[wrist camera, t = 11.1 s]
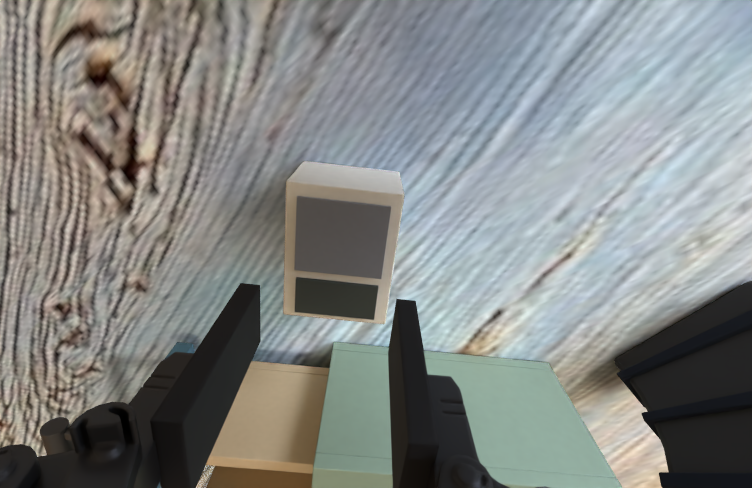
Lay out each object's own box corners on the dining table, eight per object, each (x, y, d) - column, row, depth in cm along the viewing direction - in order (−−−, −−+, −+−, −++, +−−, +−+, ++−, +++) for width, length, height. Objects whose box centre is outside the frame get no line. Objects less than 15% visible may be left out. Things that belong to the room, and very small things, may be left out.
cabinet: (322, 468, 35) (302, 613, 26) (333, 341, 29) (312, 468, 20) (503, 483, 36) (548, 629, 26) (548, 362, 30) (626, 493, 21)
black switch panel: (841, 295, 25) (1048, 574, 15) (625, 338, 34) (659, 536, 23) (823, 257, 24) (1032, 530, 14) (604, 312, 33) (630, 507, 22)
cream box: (303, 160, 24) (284, 182, 19) (399, 171, 24) (405, 195, 19) (299, 274, 27) (282, 317, 22) (384, 282, 27) (385, 327, 22)
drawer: (124, 457, 33) (47, 573, 26) (97, 334, 28) (-10, 432, 20) (369, 477, 34) (366, 595, 26) (388, 361, 29) (391, 465, 21)
